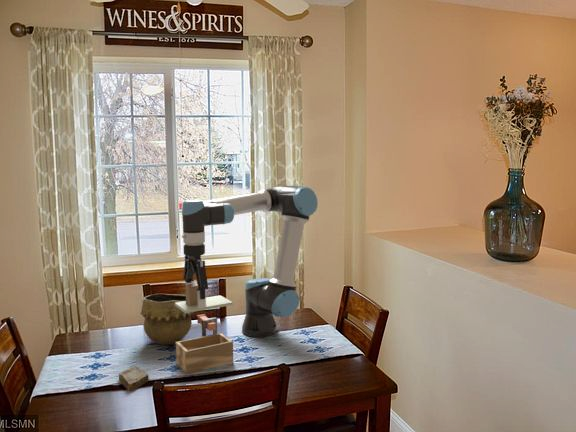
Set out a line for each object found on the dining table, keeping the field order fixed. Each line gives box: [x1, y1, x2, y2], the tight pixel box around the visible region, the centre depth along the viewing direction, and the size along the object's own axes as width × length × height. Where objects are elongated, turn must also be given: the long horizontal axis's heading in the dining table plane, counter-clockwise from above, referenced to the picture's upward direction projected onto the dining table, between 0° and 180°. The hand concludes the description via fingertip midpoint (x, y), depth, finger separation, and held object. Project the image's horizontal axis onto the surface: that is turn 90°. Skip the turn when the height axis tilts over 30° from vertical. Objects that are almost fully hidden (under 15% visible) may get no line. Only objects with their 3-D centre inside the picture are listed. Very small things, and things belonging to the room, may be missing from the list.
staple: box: [201, 317, 218, 337], centre depth 192 cm, size 2×6×13 cm, turn 121°
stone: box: [118, 366, 149, 392], centre depth 167 cm, size 15×8×3 cm, turn 36°
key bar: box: [196, 313, 216, 332], centre depth 194 cm, size 12×3×3 cm, turn 31°
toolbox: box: [175, 332, 234, 375], centre depth 181 cm, size 11×18×8 cm, turn 121°
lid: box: [175, 282, 233, 313], centre depth 179 cm, size 11×18×8 cm, turn 121°
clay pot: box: [140, 293, 194, 346], centre depth 201 cm, size 21×21×20 cm
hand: (195, 303), depth 178 cm, fingers closed on lid, 11 cm apart
